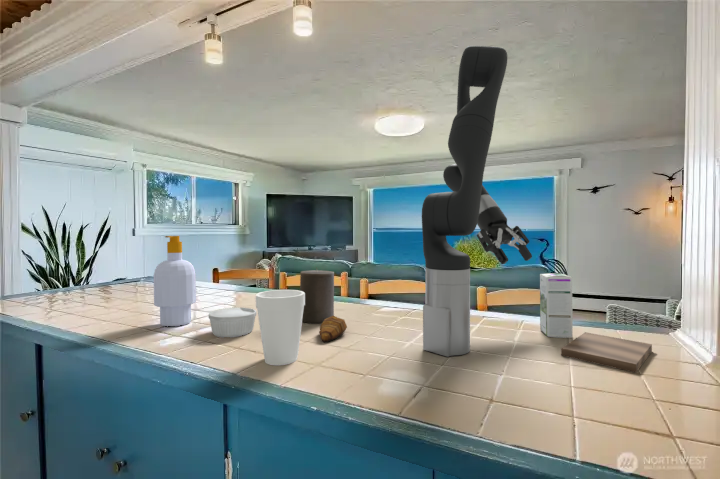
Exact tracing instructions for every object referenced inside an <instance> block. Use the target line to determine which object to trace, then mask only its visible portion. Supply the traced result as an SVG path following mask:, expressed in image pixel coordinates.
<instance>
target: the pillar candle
mask: <svg viewBox="0 0 720 479" xmlns="http://www.w3.org/2000/svg"><path fill="white" fill-rule="evenodd" d="M315 269H316V270H314V269H313V270H312V269H311V270H301V271H300V276H299V277H300V278H299V281H300V283H299V286H300V287H299V291H303V292H304V293H305V305H304V310H303V318H302V323H307V324H311V325H312V324H322V323H323V321H324V320H325V319H327V318H329V317H331V316H335V271H330V270H321V269H320V270H319V269H318V267H317V266H316V267H315Z"/></svg>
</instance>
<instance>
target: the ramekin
mask: <svg viewBox="0 0 720 479" xmlns="http://www.w3.org/2000/svg"><path fill="white" fill-rule="evenodd" d="M257 314H258V311H257V309H254V308H250V307H228V308H227V307H226V308H221V309H215V310H213V311H210V312H209V313H208V315H207V316H208V317H207V318H208V319H209V322H210V329H211V332H212V334H213V335H214V336H215V337H218V338H224V337H230V338H237V337H238V338H239V337H243V336H246V335H249V334H251V333H252V332H253V330H254V327H255V322H256V321H255V320H256V316H257ZM248 333H249V334H248ZM242 335H243V336H242Z"/></svg>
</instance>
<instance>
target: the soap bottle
mask: <svg viewBox="0 0 720 479" xmlns="http://www.w3.org/2000/svg"><path fill="white" fill-rule="evenodd" d="M164 238H166V239H167V238H169V241H167V242H166V245H167V246H166V248H167V250H166V251H167V252H166V253H167V255H166V256H167V258H166V260H163V261H161V262H160V263H158V264H157V266H156V268H155V269H154V272H153V305H154V307H158V308H159V323H160V326H162V327H165V326H167V328H169V327H168V326H175V327H180V325H182V326H185V325H188V324H189V323H191V321H192V306H191V305H192V304H195V303H197V283H196V282H197V281H196V278H197V277H196V276H197V275H196V270H195V267H194V265H193V264H192V263H191V262H190V261H188V260H186V259H183V241H180V240H181V239H180V235H164Z"/></svg>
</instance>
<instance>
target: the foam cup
mask: <svg viewBox="0 0 720 479" xmlns="http://www.w3.org/2000/svg"><path fill="white" fill-rule="evenodd" d="M304 305H305V293H304V292H303V291H300V289H299V290H298V289H273V290H265V291H260V292H258V293H255V308H256V312H257V317H258V324H259V330H260V337H261V338H260V339H261V346H262V351H263V357H264V363H265V364H267V365H271V366H284V365H285V366H286V365H289V364H292V363H295V362H296V361H297V360H298V356H299V351H300V341H301V334H302V327H303V326H302V325H303V322H302V318H303V310H304Z"/></svg>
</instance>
